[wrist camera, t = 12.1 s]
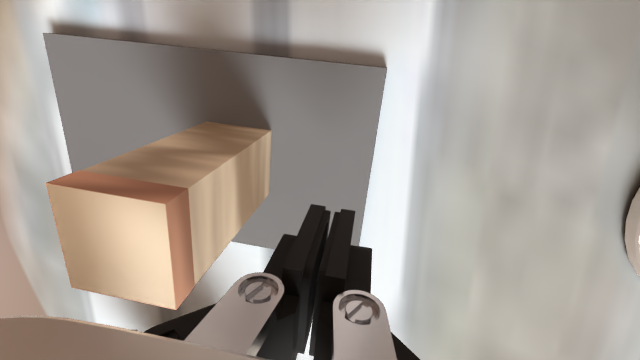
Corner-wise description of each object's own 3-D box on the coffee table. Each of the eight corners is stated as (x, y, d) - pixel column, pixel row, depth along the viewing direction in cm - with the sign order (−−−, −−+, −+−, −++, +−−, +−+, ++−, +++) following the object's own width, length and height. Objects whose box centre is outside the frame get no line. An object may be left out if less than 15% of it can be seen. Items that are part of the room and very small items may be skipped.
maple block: (271, 129, 19) (165, 203, 10) (269, 193, 20) (176, 310, 11) (206, 121, 19) (45, 183, 10) (208, 183, 21) (71, 287, 12)
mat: (386, 67, 17) (387, 68, 16) (356, 256, 22) (355, 264, 21) (55, 33, 20) (42, 32, 19) (90, 209, 24) (81, 213, 24)
